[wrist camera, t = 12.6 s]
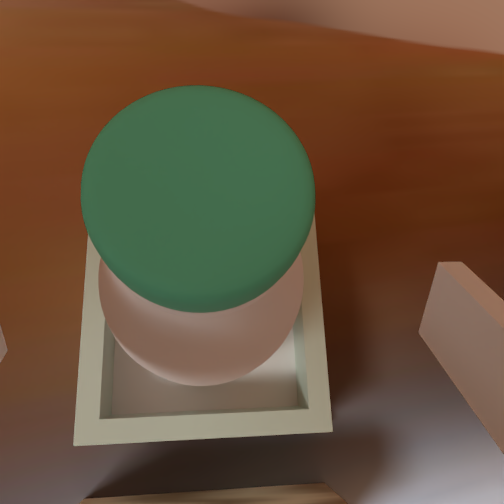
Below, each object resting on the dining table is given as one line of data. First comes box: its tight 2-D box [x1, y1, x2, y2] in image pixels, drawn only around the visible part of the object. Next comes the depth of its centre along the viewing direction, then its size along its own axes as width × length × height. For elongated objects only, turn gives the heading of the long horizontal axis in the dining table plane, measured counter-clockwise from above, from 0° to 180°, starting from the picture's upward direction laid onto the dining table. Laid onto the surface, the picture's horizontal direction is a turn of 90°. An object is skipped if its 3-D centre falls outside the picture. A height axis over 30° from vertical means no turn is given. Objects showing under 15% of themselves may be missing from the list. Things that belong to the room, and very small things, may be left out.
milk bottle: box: [81, 85, 315, 386], centre depth 18 cm, size 8×8×20 cm
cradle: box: [73, 213, 333, 446], centre depth 26 cm, size 14×14×4 cm
